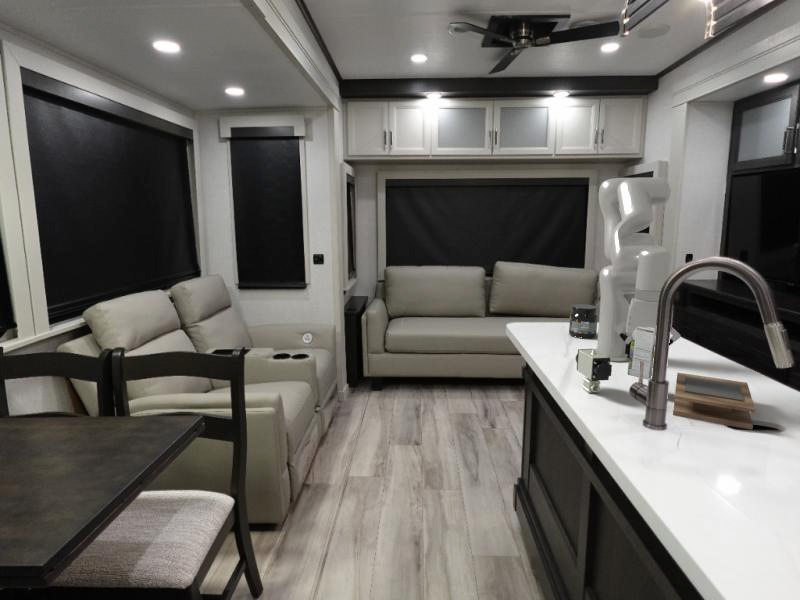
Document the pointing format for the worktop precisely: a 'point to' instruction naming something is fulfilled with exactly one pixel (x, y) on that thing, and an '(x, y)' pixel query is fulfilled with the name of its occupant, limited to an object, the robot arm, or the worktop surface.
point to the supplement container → (583, 321)
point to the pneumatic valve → (593, 368)
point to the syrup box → (642, 351)
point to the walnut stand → (713, 400)
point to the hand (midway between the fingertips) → (643, 358)
